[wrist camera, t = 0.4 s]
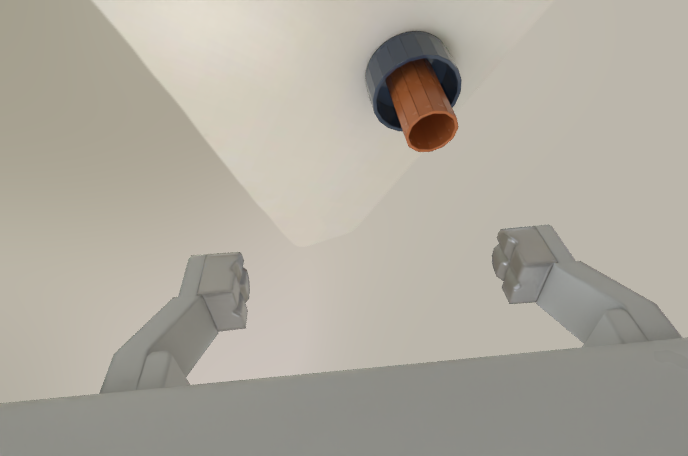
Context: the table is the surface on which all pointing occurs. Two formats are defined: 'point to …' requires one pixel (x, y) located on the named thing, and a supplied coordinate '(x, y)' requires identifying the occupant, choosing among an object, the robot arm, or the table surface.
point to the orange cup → (421, 106)
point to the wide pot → (401, 53)
